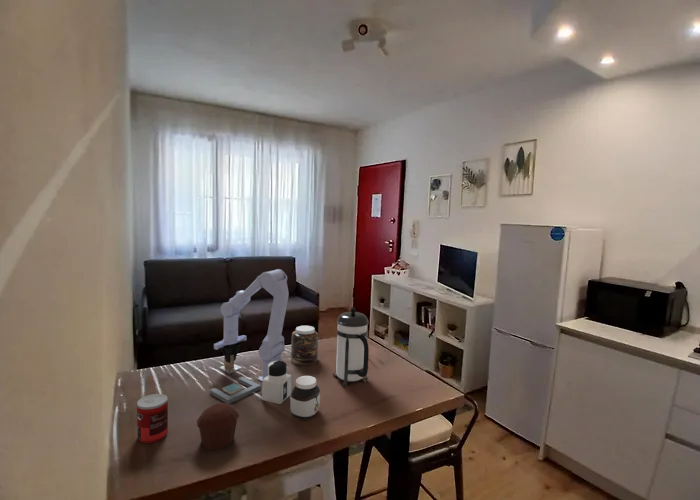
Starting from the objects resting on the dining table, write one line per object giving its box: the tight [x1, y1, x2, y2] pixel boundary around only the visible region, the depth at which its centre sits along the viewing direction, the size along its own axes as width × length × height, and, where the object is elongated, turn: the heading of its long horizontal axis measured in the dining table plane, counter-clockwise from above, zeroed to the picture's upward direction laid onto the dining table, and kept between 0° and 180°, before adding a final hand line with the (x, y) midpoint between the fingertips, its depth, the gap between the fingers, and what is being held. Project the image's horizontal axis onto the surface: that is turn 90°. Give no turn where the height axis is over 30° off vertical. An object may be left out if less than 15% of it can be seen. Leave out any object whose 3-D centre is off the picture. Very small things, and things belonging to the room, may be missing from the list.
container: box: [261, 360, 292, 405], centre depth 127 cm, size 8×8×13 cm
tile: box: [222, 382, 243, 396], centre depth 132 cm, size 5×5×2 cm
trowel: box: [218, 353, 242, 375], centre depth 148 cm, size 6×7×6 cm
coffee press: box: [332, 306, 370, 388], centre depth 142 cm, size 17×16×30 cm
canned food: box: [136, 393, 169, 444], centre depth 103 cm, size 8×8×11 cm
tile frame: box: [209, 376, 262, 405], centre depth 130 cm, size 11×14×2 cm
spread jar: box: [289, 375, 321, 420], centre depth 119 cm, size 12×11×12 cm
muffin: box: [196, 402, 240, 451], centre depth 102 cm, size 12×11×10 cm
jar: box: [290, 325, 319, 366], centre depth 160 cm, size 12×12×15 cm
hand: (230, 360), depth 148 cm, fingers closed on trowel, 2 cm apart
